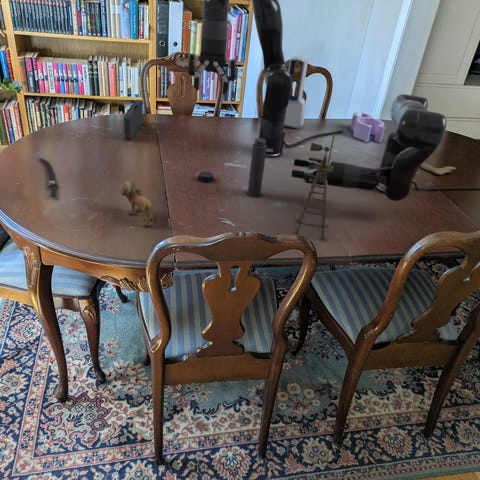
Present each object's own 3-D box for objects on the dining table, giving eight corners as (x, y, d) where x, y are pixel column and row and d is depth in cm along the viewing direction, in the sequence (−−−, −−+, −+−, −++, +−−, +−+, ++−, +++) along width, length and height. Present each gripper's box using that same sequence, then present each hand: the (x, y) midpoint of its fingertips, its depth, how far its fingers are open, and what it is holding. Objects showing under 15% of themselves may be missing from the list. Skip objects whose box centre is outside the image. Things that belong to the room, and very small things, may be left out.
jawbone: (446, 180, 181) (448, 175, 179) (397, 163, 191) (398, 159, 190) (455, 172, 186) (456, 167, 185) (406, 156, 197) (407, 152, 195)
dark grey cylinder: (253, 198, 153) (259, 143, 142) (244, 192, 155) (250, 138, 145) (263, 195, 155) (270, 141, 145) (254, 190, 158) (261, 136, 147)
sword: (61, 197, 141) (61, 193, 140) (50, 198, 139) (50, 194, 139) (49, 160, 164) (48, 156, 163) (39, 160, 163) (39, 157, 162)
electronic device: (303, 125, 218) (315, 58, 202) (300, 130, 212) (311, 61, 196) (278, 120, 221) (287, 54, 205) (273, 125, 215) (283, 56, 199)
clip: (343, 126, 223) (346, 112, 219) (367, 127, 225) (371, 113, 221) (360, 142, 206) (364, 127, 202) (386, 142, 209) (390, 127, 205)
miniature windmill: (323, 240, 134) (345, 141, 118) (294, 234, 135) (312, 135, 119) (324, 224, 142) (346, 129, 126) (297, 219, 143) (314, 124, 127)
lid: (208, 175, 164) (208, 170, 163) (215, 181, 161) (215, 175, 160) (196, 177, 161) (196, 172, 160) (203, 183, 158) (203, 178, 157)
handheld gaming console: (136, 121, 202) (136, 98, 197) (143, 121, 202) (142, 98, 197) (123, 140, 183) (122, 115, 178) (130, 141, 183) (130, 116, 178)
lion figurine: (118, 210, 138) (116, 182, 133) (132, 204, 141) (131, 177, 137) (151, 229, 130) (150, 201, 126) (165, 223, 134) (165, 195, 129)
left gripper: (187, 34, 134) (185, 91, 142) (235, 41, 132) (231, 98, 141) (193, 31, 140) (191, 85, 149) (240, 37, 139) (235, 91, 147)
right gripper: (346, 155, 150) (296, 148, 152) (346, 174, 139) (292, 165, 140) (341, 176, 155) (292, 168, 156) (341, 196, 143) (289, 188, 144)
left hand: (210, 91), depth 145 cm, fingers open, 8 cm apart
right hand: (292, 167), depth 148 cm, fingers open, 8 cm apart
